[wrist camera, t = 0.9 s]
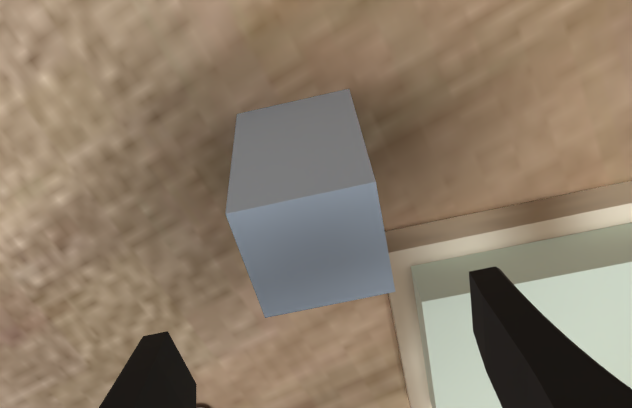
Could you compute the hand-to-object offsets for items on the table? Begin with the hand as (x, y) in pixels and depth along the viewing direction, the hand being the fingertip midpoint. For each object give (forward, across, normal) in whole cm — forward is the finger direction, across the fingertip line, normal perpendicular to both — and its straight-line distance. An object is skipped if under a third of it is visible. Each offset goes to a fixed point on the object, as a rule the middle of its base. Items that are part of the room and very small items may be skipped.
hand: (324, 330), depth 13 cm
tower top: (+8, -8, +10) cm, 15 cm away
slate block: (+9, 0, 0) cm, 9 cm away
